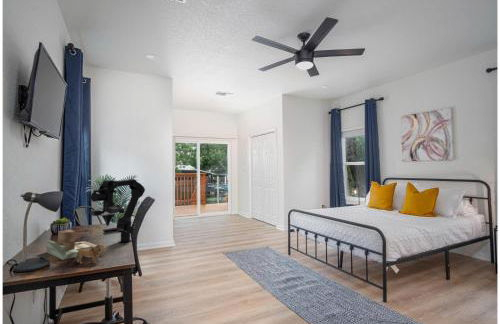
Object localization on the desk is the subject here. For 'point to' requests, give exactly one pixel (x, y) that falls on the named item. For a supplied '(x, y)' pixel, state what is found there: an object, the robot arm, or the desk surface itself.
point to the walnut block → (67, 239)
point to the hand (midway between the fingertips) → (107, 225)
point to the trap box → (61, 251)
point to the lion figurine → (90, 253)
